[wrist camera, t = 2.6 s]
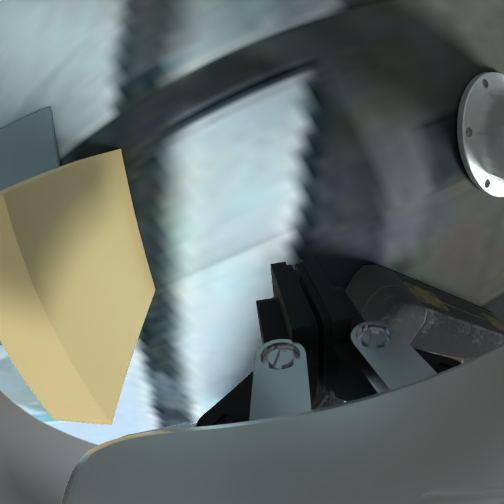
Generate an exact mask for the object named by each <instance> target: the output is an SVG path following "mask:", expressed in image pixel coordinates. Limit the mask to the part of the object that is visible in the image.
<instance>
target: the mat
mask: <svg viewBox="0 0 504 504" xmlns="http://www.w3.org/2000/svg"><path fill="white" fill-rule="evenodd" d="M60 166H61V164H60V159H59V154H58V149H57V144H56V138H55V132H54V126H53V119H52V112H51V107H47V108H45V109H42V110H40V111H38V112H35V113H33V114H31V115H29V116H27V117H24V118H22V119H20V120H18V121H16V122H14V123H12V124H10V125H8V126H6V127H4V128H2V129H0V191H2V190H4V189H6V188H8V187H11V186H13V185H15V184H18V183H20V182H22V181H25V180H27V179H30V178H32V177H34V176H37V175H39V174H42V173H45V172H47V171H50V170H52V169H55V168H58V167H60ZM0 345H2V343H1V341H0Z"/></svg>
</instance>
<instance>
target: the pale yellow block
mask: <svg viewBox="0 0 504 504" xmlns="http://www.w3.org/2000/svg"><path fill="white" fill-rule="evenodd" d="M154 292H155V287H154V284H153V280H152V277H151V273H150V270H149V266H148V263H147V259H146V256H145V252H144V248H143V245H142V241H141V237H140V233H139V229H138V225H137V221H136V217H135V213H134V209H133V204H132V200H131V196H130V191H129V187H128V182H127V177H126V172H125V167H124V162H123V157H122V152H121V149H117V150H113V151H109V152H106V153H102V154H98V155H95V156H91V157H88V158H84V159H81V160H77V161H74V162H71V163H69V164H66V165H63V166H60V167H58V168H55V169H52V170H50V171H47V172H45V173H42V174H39V175H37V176H34V177H32V178H30V179H27V180H25V181H22V182H20V183H18V184H15V185H13V186H11V187H8V188H6V189H4V190H2V191H0V341H1V343H2V345H3V346H4V348H5V350H6V352H7V353H8V355H9V357H10V358H11V360H12V361H13V363H14V365H15V366H16V368H17V369H18V371H19V372H20V374H21V376H22V377H23V379H24V380H25V381H26V383H27V384H28V386H29V387H30V389H31V390H32V392H33V393H34V394H35V396H36V397H37V398H38V400H39V401H40V403H41V404H42V405H43V407H44V408H45V409H46V410H47V412H48V413H49V414H50V416H51V417H52V418H53V419H54V420H62V421H71V422H81V423H93V424H108V425H112V421H113V417H114V414H115V410H116V407H117V403H118V400H119V397H120V393H121V390H122V387H123V383H124V380H125V377H126V374H127V371H128V367H129V364H130V361H131V358H132V355H133V352H134V349H135V346H136V343H137V340H138V337H139V334H140V331H141V328H142V326H143V323H144V320H145V317H146V314H147V311H148V309H149V306H150V303H151V300H152V298H153V295H154Z"/></svg>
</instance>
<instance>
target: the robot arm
mask: <svg viewBox="0 0 504 504" xmlns="http://www.w3.org/2000/svg"><path fill="white" fill-rule="evenodd" d="M457 137H458V146H459V151H460V155H461V159H462V162H463V164H464V167H465V170H466V172H467V174H468V175H469V177H470V179H471V180H472V182H473V183H474V184H475V185H476V186H477V187H478V188H479V189H480V190H482V191H483V192H485V193H487V194H489V195H491V196H495V197H504V74H502V73H498V72H484V73H482V74H479V75H477V76H476V77H474V78H473V79H472V80H471V81H470V82H469V84H468V85H467V87H466V88H465V90H464V93H463V95H462V97H461V101H460V105H459V109H458V118H457ZM295 271H296V274H295ZM295 271H294V269H293V267H292V265H286V262H281V263H275V264H271V275H272V284H273V293H274V298H271V299H264V300H258V301H256V304H257V311H258V318H259V324H260V331H261V337H262V343H263V345H262V346H261V347H260V348H259V349H258V350H257V351H256V354H255V359H254V371H253V372H252V373H251V374H250V375H248V376H247V377H246V378H245V379H244V380H243V381H242V382H241V383H240V384H238V385H237V386H236V387H235V388H234V389H233V390H232V391H231V392H229V393H228V394H227V395H226V396H225V397H224V398H223V399H221V400H220V401H219V402H218V403H217V404H216V405H214V406H213V407H212V408H211V409H210V410H209V411H207V412H206V413H205V414H204V415H203V416H202V417H201V418H200V419H199V420H198V422H197V423H196V424H192V425H187V423H186V422H185V423H181V424H177V425H173V426H169V427H164V428H160V429H155V430H150V431H145V432H140V433H135V434H129V435H126V436H123V437H121V438H118V439H114V440H111V441H108V442H105V443H103V444H101V445H98V446H96V447H94V448H92V449H91V450H89V451H88V452H87V453H85V454H84V455H83V456H82V457H81V458H80V460H79V461H78V463H77V464H76V466H75V468H74V470H73V471H72V474H71V476H70V478H69V481H68V483H67V486H66V489H65V492H64V495H63V498H62V502H61V504H504V346H502V347H499V348H497V349H495V350H493V351H490V352H488V353H486V354H484V355H481V356H478V357H473V358H468V359H462V362H461V363H460V362H459V361H457V360H455V359H452V358H449V357H445V356H441V355H438V354H434V353H430V352H427V351H423V350H419V349H416V348H412V347H411V346H410V345H409V344H408V342H407V341H406V340H405V339H404V338H403V337H402V336H401V335H400V334H399V333H398V332H397V331H396V330H395V329H394V328H392V327H391V326H390V325H388V324H385V323H383V322H378V321H368V322H365V321H364V319H363V318H362V316H361V314H360V313H359V311H358V310H357V308H356V307H355V305H354V304H353V302H352V300H351V299H350V297H349V296H348V294H347V293H346V291H345V290H344V288H343V287H341V286H340V287H335V288H334V287H333V285H332V284H331V282H330V280H329V279H328V277H327V276H326V274H325V272H324V271H323V269H322V267H321V266H320V264H319V263H318V261H317V260H316V258H315V257H313V258H307V259H301V260H300V263H299V264H295ZM318 384H319V387H320V390H321V392H327V394H328V397H329V400H332V399H336V398H339V399H341V400H344V403H341V404H337V405H332V406H328V407H324V408H319V409H315V410H311V408H312V406H313V405H314V404H315V403H316V402H317V393H318Z"/></svg>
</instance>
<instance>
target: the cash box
mask: <svg viewBox="0 0 504 504" xmlns="http://www.w3.org/2000/svg"><path fill="white" fill-rule="evenodd" d="M345 291H346V293H347V294H348V296H349V297H350V299H351V300H352V302H353V304H354V305H355V307H356V308H357V310H358V311H359V313H360V314H361V316H362V318H363V319H364V321H365V322H368V321H378V322H383V323H385V324H388V325H390V326H391V327H392V328H394V329H395V330H396V331H397V332H398V333H399V334H400V335H401V336H402V337H403V338H404V339H405V340H406V341H407V342H408V344H409V345H410V346H411V347H412V348H416V349H419V350H423V351H427V352H430V353H434V354H438V355H441V356H445V357H449V358H452V359H455V360H457V361H459V362H460V363H461V362H462V359H468V358H473V357H478V356H481V355H484V354H486V353H488V352H490V351H493V350H495V349H497V348H499V347H502V346H504V323H503V322H502V321H501V320H500V319H499V318H498V317H497V316H496V315H495V314H493V313H491V312H489V311H486V310H484V309H482V308H480V307H477V306H475V305H473V304H470V303H468V302H466V301H463V300H461V299H459V298H456V297H454V296H452V295H449V294H447V293H445V292H442V291H440V290H437V289H435V288H433V287H430V286H428V285H425V284H423V283H421V282H418V281H416V280H413V279H411V278H408V277H406V276H403V275H401V274H399V273H396V272H394V271H391V270H388V269H386V268H383V267H381V266H378V265H364V266H362V267H361V268H360V269H359V270H358V271H357V272H356V273H355V274H354V275H353V277H352V279H351V280H350V282H349V284H348V286H347V288H346V289H345ZM341 403H344V400H341V399H339V398H336V399H332V400H329V397H328V394H327V392H321V390H320V387H319V384H318V393H317V402H316V403H315V404H314V405H313V406H312V408H311V410H315V409H319V408H324V407H328V406H332V405H337V404H341Z"/></svg>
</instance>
